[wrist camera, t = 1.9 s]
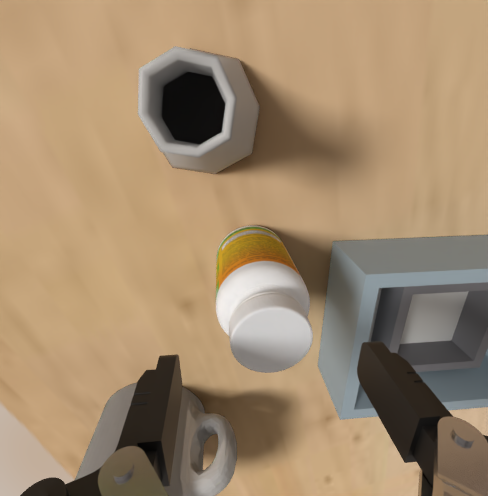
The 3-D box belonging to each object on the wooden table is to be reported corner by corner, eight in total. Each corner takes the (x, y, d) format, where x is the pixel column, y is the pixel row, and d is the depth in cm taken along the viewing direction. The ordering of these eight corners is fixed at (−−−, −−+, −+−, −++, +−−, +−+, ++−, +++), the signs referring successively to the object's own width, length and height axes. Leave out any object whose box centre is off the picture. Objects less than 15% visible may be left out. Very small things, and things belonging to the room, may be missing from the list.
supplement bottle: (203, 242, 21) (192, 324, 13) (268, 211, 21) (305, 274, 12) (235, 295, 24) (244, 398, 15) (294, 268, 23) (342, 358, 14)
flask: (266, 164, 20) (307, 197, 10) (163, 182, 19) (113, 231, 10) (251, 39, 17) (290, -67, 8) (130, 59, 17) (19, -24, 7)
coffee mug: (127, 457, 30) (87, 599, 21) (86, 394, 26) (15, 536, 17) (247, 429, 30) (259, 560, 21) (224, 361, 26) (226, 487, 17)
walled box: (332, 241, 22) (366, 274, 17) (533, 232, 23) (619, 262, 18) (317, 365, 27) (340, 419, 22) (482, 353, 28) (538, 402, 23)
